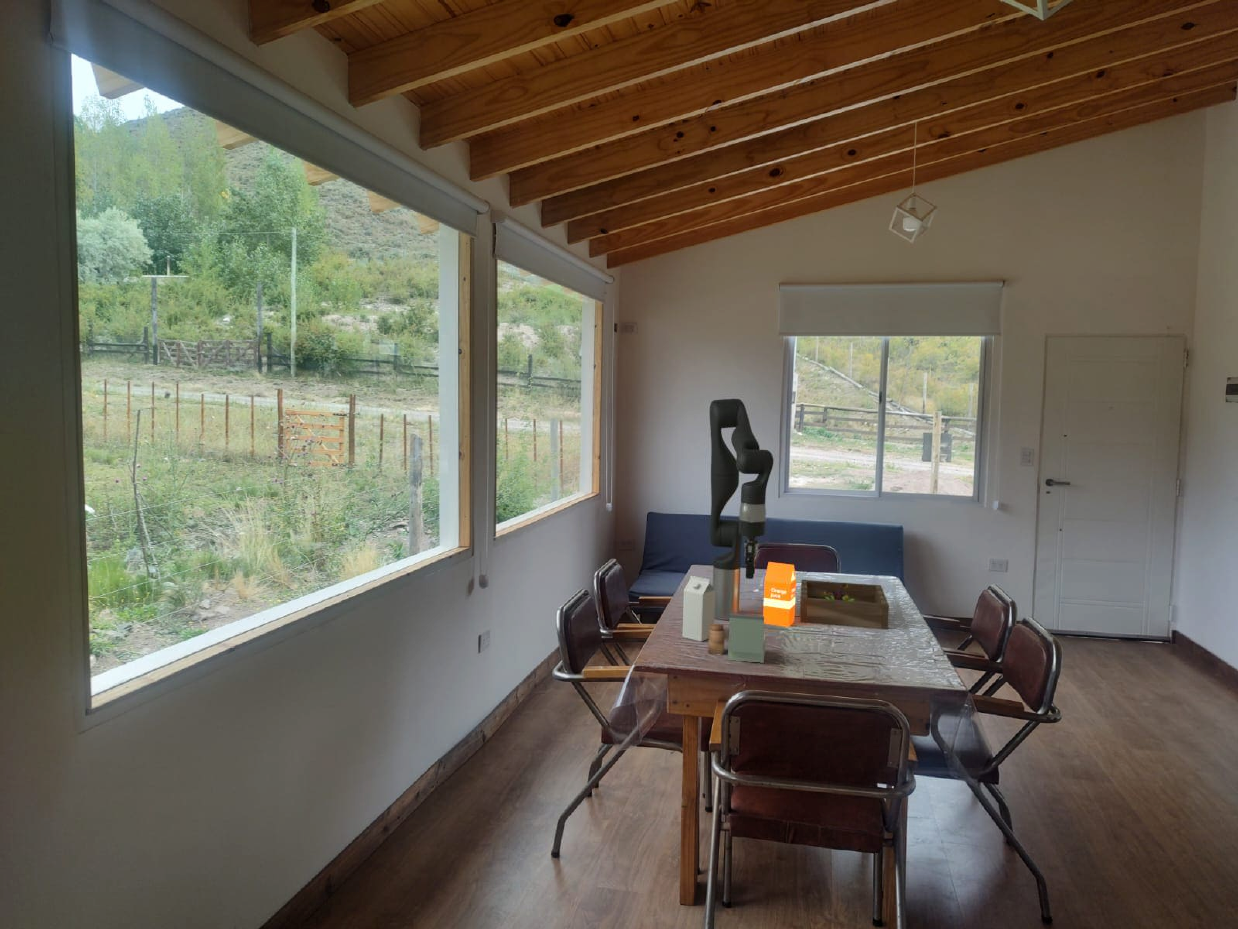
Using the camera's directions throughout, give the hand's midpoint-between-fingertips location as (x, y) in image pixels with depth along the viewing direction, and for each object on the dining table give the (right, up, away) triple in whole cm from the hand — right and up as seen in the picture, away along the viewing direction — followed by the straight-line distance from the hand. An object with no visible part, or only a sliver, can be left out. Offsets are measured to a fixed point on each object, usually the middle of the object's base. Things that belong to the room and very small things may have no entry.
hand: (750, 576), depth 233 cm
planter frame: (+39, -20, +46) cm, 64 cm away
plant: (+39, -20, +46) cm, 64 cm away
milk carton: (-13, -22, +17) cm, 31 cm away
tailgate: (-2, -21, -6) cm, 22 cm away
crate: (-1, -23, 0) cm, 23 cm away
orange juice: (+15, -21, +35) cm, 44 cm away
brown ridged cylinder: (-10, -23, +3) cm, 25 cm away
